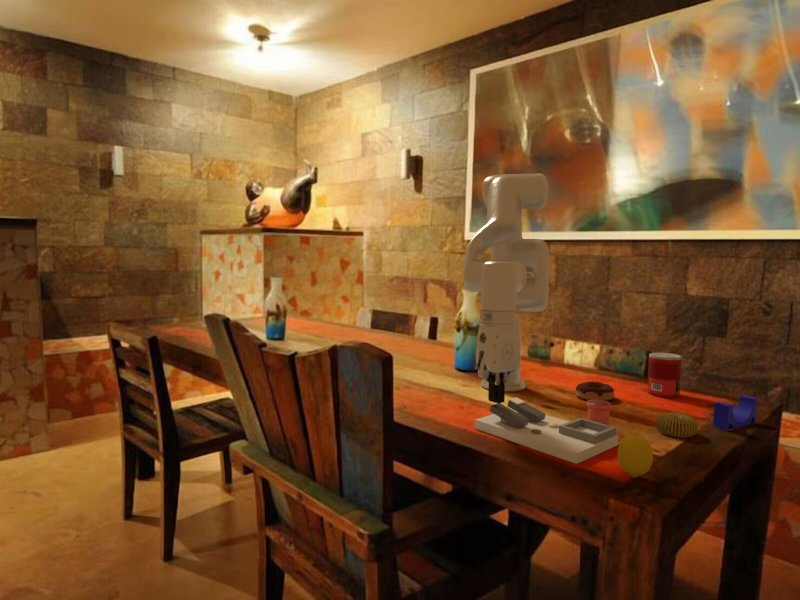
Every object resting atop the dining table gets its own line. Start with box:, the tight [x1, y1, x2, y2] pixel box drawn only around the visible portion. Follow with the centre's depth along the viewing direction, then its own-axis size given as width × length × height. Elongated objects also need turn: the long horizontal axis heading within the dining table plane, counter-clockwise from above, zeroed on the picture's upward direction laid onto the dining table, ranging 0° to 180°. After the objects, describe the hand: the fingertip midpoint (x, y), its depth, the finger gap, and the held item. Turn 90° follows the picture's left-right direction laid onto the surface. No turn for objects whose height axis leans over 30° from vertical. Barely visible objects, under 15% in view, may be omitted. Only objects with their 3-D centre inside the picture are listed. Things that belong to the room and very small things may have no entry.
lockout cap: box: [586, 400, 612, 426], centre depth 115 cm, size 5×5×6 cm
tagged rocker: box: [506, 397, 547, 422], centre depth 116 cm, size 8×3×3 cm, turn 40°
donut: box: [575, 380, 615, 402], centre depth 141 cm, size 10×10×4 cm
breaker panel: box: [474, 408, 619, 465], centre depth 110 cm, size 25×15×4 cm, turn 40°
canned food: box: [646, 352, 683, 399], centre depth 144 cm, size 8×8×11 cm
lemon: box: [617, 431, 654, 479], centre depth 90 cm, size 6×6×8 cm
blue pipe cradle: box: [712, 394, 758, 431], centre depth 119 cm, size 12×4×6 cm, turn 120°
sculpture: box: [655, 412, 699, 439], centre depth 113 cm, size 8×4×8 cm
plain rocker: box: [489, 403, 529, 428], centre depth 112 cm, size 8×3×2 cm, turn 40°
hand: (496, 401), depth 114 cm, fingers closed
